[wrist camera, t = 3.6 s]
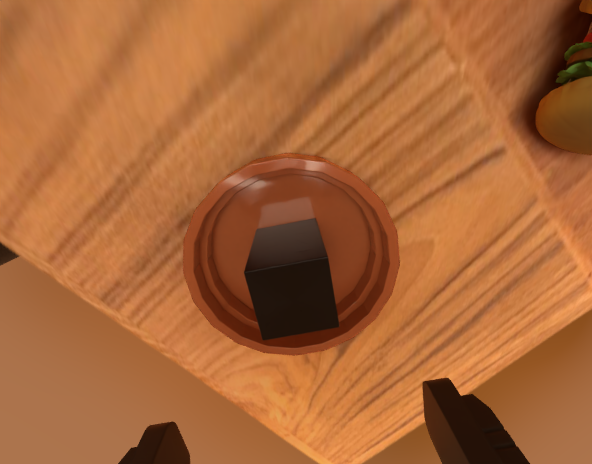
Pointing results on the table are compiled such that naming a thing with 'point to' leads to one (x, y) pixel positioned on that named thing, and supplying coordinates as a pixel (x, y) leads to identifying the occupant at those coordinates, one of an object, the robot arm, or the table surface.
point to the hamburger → (571, 99)
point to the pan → (281, 210)
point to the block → (291, 280)
